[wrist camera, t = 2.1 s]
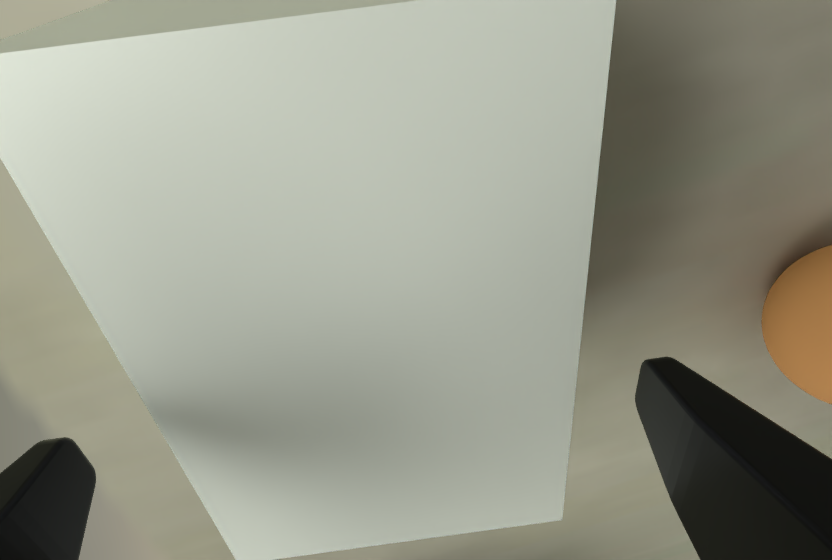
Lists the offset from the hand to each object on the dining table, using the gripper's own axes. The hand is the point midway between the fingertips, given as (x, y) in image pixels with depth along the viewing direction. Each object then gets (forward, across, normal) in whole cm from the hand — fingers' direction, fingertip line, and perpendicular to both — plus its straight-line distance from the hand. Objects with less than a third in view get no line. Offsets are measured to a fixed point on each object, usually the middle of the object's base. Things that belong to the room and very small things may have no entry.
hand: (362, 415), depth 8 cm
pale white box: (+8, 0, 0) cm, 8 cm away
